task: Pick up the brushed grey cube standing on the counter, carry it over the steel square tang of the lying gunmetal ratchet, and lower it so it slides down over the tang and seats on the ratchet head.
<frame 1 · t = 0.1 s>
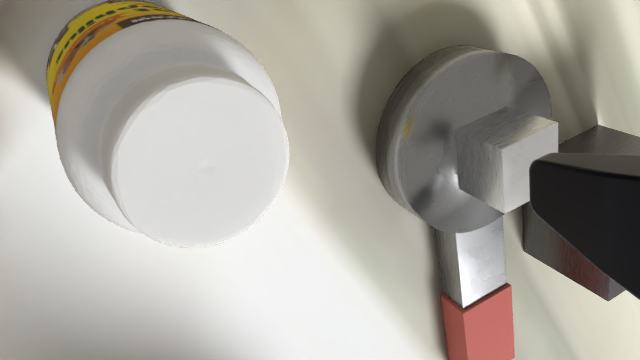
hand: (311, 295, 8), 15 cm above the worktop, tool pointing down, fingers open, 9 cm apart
brushed grey cube: (561, 189, 34), on the worktop
ratchet: (449, 133, 28), on the worktop
supplement bottle: (127, 75, 20), on the worktop
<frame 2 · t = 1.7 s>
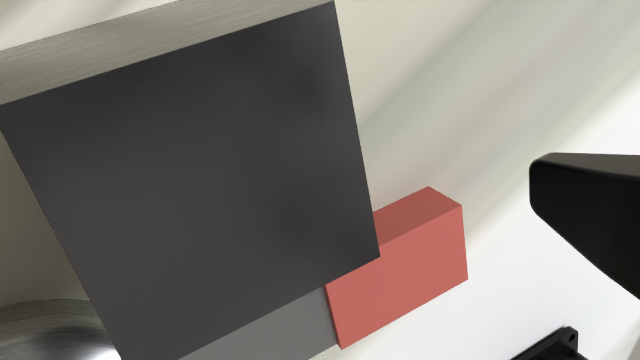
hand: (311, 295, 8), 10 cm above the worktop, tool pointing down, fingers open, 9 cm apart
brushed grey cube: (164, 123, 16), on the worktop
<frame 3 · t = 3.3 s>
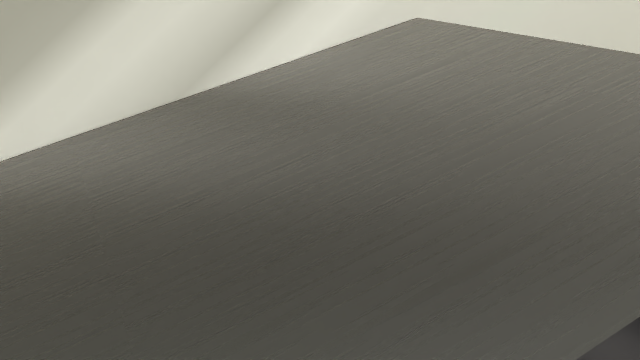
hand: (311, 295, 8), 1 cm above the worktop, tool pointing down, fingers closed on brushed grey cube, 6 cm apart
brushed grey cube: (284, 262, 9), on the worktop, touching gripper
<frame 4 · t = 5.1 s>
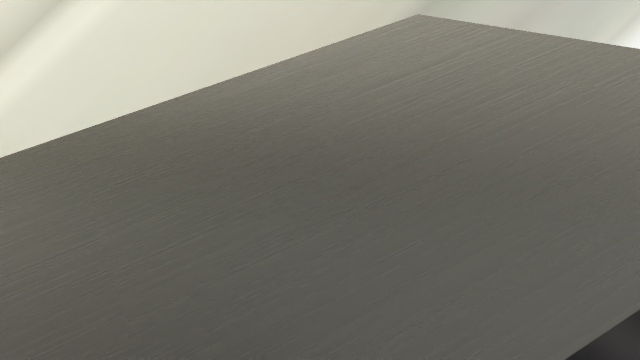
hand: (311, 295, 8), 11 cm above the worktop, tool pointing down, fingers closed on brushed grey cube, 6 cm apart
brushed grey cube: (284, 260, 9), point 10 cm above the worktop, touching gripper
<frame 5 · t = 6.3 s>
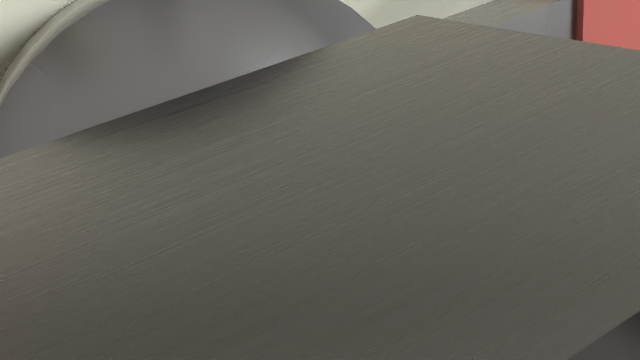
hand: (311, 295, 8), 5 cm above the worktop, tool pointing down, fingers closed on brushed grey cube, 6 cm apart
brushed grey cube: (283, 261, 9), point 4 cm above the worktop, touching gripper
ratchet: (205, 173, 13), on the worktop
when the fingers open (4 cm above the worktop, at t = 7.1 s): brushed grey cube stays where it is, resting on ratchet.
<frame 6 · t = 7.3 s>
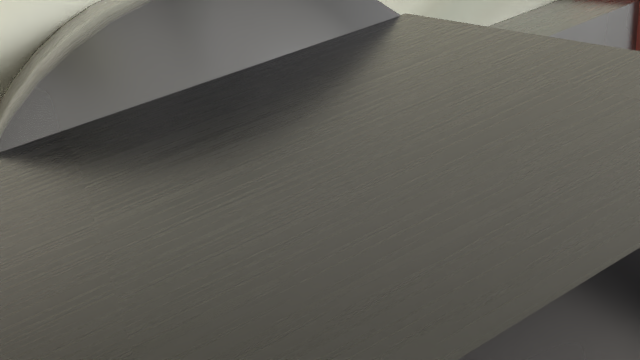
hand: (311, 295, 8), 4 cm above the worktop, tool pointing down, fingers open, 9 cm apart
brushed grey cube: (276, 252, 9), point 2 cm above the worktop, touching ratchet
ratchet: (229, 200, 11), on the worktop, touching brushed grey cube
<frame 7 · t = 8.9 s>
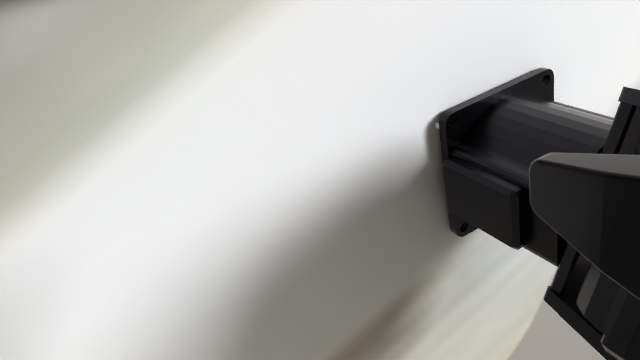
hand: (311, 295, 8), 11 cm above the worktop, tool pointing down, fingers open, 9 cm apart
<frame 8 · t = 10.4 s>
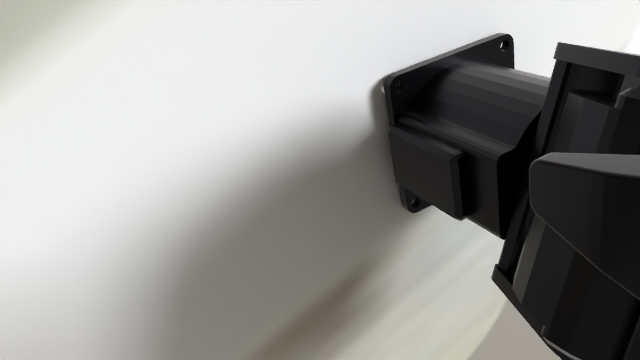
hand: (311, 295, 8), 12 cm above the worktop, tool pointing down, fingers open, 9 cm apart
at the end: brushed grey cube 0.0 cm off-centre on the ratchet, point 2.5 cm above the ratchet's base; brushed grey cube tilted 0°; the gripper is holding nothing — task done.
